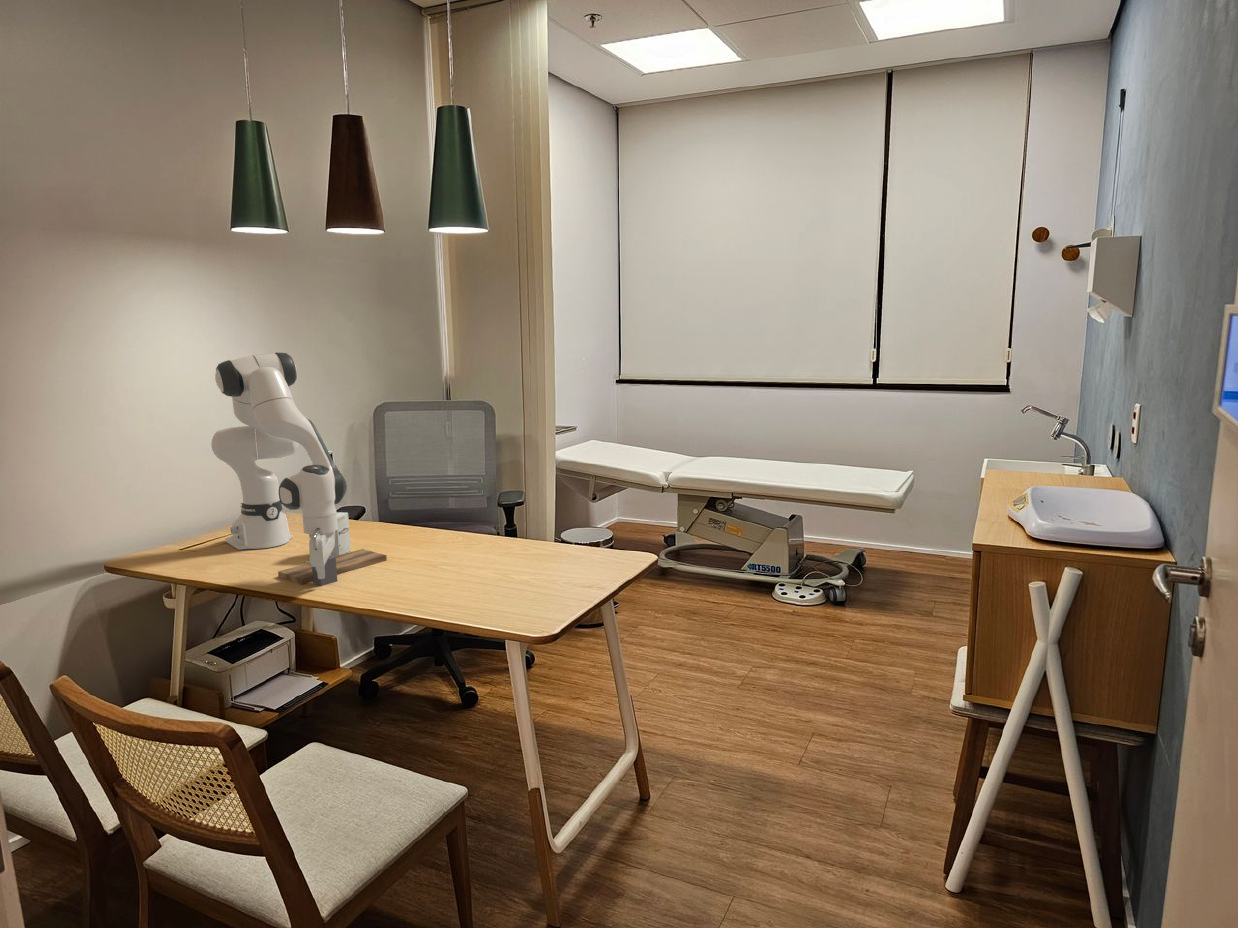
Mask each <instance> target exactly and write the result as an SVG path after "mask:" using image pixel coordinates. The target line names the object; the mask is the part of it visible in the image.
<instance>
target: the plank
mask: <svg viewBox="0 0 1238 928" xmlns="http://www.w3.org/2000/svg"><path fill="white" fill-rule="evenodd" d="M334 557H336V569H337V575H340V574H344V573H347V572H351V571H354V570H359V569H361V568H365V567H368V566H371V565H375V564H379V563H381V562H382V563H383V562H386V561H387V560H388V559H387V558H388V557H387V555H386V554H384V553H380V552H375V551H372V550H368V549H365V548H361V549H357V550H353V551H350V552H347V553H345V554H342V555H338V556H334ZM277 574H278V576H277V577H278V578H281V579H283V580H287V581H289V582H292V583H295V584H299V585H301V586H303V585H305V584H308V583H313V575H312V566H308V565H305V563H304V564H301V565H297V566H294V567H291V568H286V569H283V570H278V571H277Z"/></svg>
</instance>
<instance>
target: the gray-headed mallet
mask: <svg viewBox="0 0 1238 928" xmlns="http://www.w3.org/2000/svg"><path fill="white" fill-rule="evenodd" d="M304 564H305V565H308V566H311V564H310V559H309V560H305V561H304ZM324 569H325V575H326V576H325V578H324V579H318V574H317V570H316V567H312V575H313V582H312V584H313V585H317V586H319V587H323V586H326V585H330V584H333V583H337V582H338V574H337V569H336V557H333V556H329V558H328V560H327V562H326V563H325V566H324Z"/></svg>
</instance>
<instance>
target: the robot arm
mask: <svg viewBox="0 0 1238 928" xmlns="http://www.w3.org/2000/svg"><path fill="white" fill-rule="evenodd" d="M297 375H298V369H297V365H296V363H295V361H294V359H293V357H292V356H291V355H290V354H288V353H287V352H275V353H262V354H253V355H251V356H243V357H240V358H237V359H232V360H230V359H228V360H224V361H221V362H220V363H218V364H217V366H216V368H215V374H214V376H215V377H214V380H215V383H216V386H217V388H218V389H219V390H220V392H221V394H222V395H223V394H224V395H225V396H227V397H231V398H232V409H233V414H234V416H235V418H236V419H238V421H239V422H240V423H242V424H244V425H245V426H244V425H243V426H230V427H227V428H223V429H219V430H217V431H216V432H215V433H214V434H213V436H212V439H211V445H210V446H211V450H212V452H213V454H214V455H215V457H216V458H217V459H219V460H220V461H222V462H224V463H226V465H228V466H229V467H230V468H231V469H232V470H233V471H234V472H235V474H236V476H237V478H238V480H239V483H240V487H241V496H242V503H240V508H241V509H240V515H239V516H238V517H237V518H236V519H235V521H234V522H232V525H231V527H230V533H231V534H232V535H231V536H228V537H225V539H224V542H225V543H226V544H228V545H230V546H232V547H233V548H234V549H236V550H239V551H241V550H250V549H251V550H252V549H253V550H254V549H255V550H257V549H258V550H259V549H268V548H273V547H274V548H275V547H279V546H282V545H285V544H287V543H289V542H290V540H291V539H292V538H294V535H293V533H290V529H289V522H288V519H287V515H286V514H285V513H284V512H283V507H285V508H286V509H288V510H290V511H299V510H302V516H301V517H302V525H303V533H304V534H306V535H308V537H309V543H308V544H309V545H308V547H309V548H308V549H309V550H308V551H309V560H310V564H311V566H312V567H316V570H317V574H318V579H324V578H325V576H326V575H325V569H324V566H325V563H326V562H327V560H328V558H329V556H331V552H332V550H333V548H334V546H335V531H336V530H337V529H338V524H337V509H336V506H335V505H337V504H339V503H341V502H342V500H343V498H344V497H345V495H346V493H347V489H348V485H347V481H346V480H345V477H344V476H343V474H342V473H341V471H340V470H339V468H338V467H337V465H336V464H335V462H334V460H333V458H332V456H331V454H330V452H329V450H328V448H327V446H326V444H325V443H324V440H323V438H322V437H321V434H320V433H319V430H318V429H317V428H316V427H317V426H316V425H315V424H314V422H313V421H312V420H310V419H308V418H307V417H305V415H304V414H303V413H301V411H300V410H299V408H298V407H297V405H296V403H295V399H294V398H293V393H292V391H291V389H290V386H293V385H294V384H295V383H296V381H297ZM300 445H301V446H302V448H304V449H305V451H306V452H307V455H308V457H309V459H310V461H311V463H312V464H309V465H305V466H303V467H302V468H301V469H300V471H299V472H298V473H296V474H293V475H290V476H288V477H285V478H284V479H282V480H281V482H279V478H278V477H277V475H276V474H275V472H272V471H270V470H268V469H266V468H262V467H260V466H259V465H258V464H257V463H256V461H258V460H267V459H269V460H271V459H279V458H284V457H287V456H291V455H294V454H295V453H296V452H297V451H298V449H299V446H300ZM279 483H280V484H279Z"/></svg>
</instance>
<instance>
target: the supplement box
mask: <svg viewBox="0 0 1238 928" xmlns="http://www.w3.org/2000/svg"><path fill="white" fill-rule="evenodd" d="M336 512H337V511H336ZM337 524H338V529H337V530H336V531H335V546H334V548H333V550H332V552H331V556H333V557H334V556H338V555H342V554H346V553H349V552H352V551H351V550H352V548H351V537H350V536H351V535H350V534H351V533H350V521H349V512H342V511H341V512H337Z"/></svg>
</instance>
